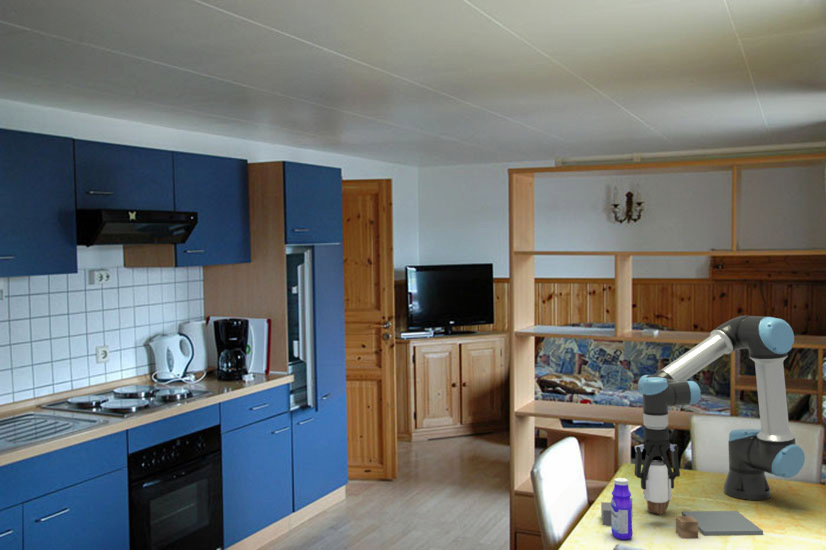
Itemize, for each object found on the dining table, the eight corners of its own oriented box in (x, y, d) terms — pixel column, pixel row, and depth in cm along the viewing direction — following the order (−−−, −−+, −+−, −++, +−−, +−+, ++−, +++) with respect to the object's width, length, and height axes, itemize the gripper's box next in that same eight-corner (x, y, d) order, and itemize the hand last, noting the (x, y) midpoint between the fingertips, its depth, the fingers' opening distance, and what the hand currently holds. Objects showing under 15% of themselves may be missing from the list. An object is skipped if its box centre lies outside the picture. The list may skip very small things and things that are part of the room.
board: (736, 514, 238) (736, 510, 238) (763, 534, 220) (763, 530, 220) (682, 515, 238) (682, 511, 238) (703, 535, 220) (703, 531, 220)
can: (669, 504, 226) (668, 465, 226) (648, 503, 227) (647, 465, 227) (666, 497, 232) (665, 460, 232) (645, 496, 234) (644, 459, 233)
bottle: (608, 532, 223) (608, 476, 223) (626, 531, 224) (625, 475, 223) (617, 541, 216) (616, 483, 216) (635, 540, 216) (635, 482, 216)
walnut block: (692, 532, 223) (691, 516, 223) (698, 538, 218) (698, 521, 218) (675, 532, 223) (675, 516, 223) (681, 538, 218) (681, 522, 218)
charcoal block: (613, 517, 236) (613, 502, 236) (616, 526, 228) (616, 510, 228) (601, 517, 237) (601, 502, 237) (603, 525, 229) (603, 510, 229)
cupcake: (638, 511, 242) (638, 481, 241) (653, 506, 247) (653, 477, 247) (661, 518, 234) (661, 488, 234) (677, 513, 240) (676, 483, 240)
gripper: (681, 423, 233) (683, 494, 233) (622, 424, 233) (624, 495, 233) (690, 428, 226) (692, 501, 226) (629, 430, 226) (630, 503, 226)
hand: (657, 498), depth 230 cm, fingers closed on can, 6 cm apart
